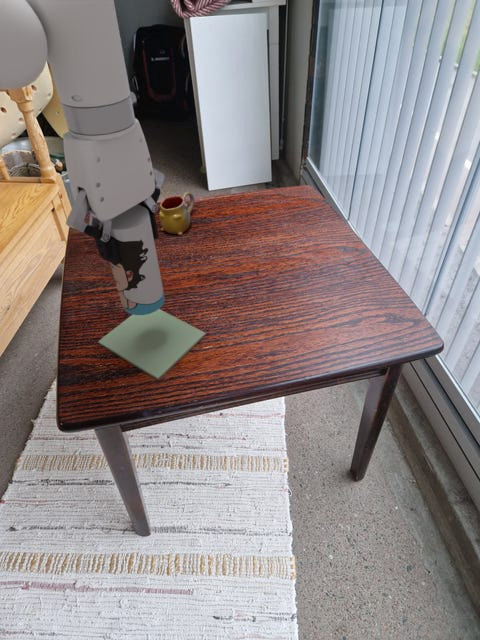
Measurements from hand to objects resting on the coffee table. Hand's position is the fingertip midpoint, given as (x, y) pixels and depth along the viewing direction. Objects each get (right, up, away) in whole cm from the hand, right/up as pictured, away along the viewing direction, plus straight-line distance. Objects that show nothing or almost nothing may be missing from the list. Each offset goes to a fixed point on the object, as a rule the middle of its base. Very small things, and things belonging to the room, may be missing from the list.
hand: (130, 247), depth 59 cm
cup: (0, -7, +7) cm, 10 cm away
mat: (0, -14, +13) cm, 19 cm away
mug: (+2, +13, +41) cm, 43 cm away
